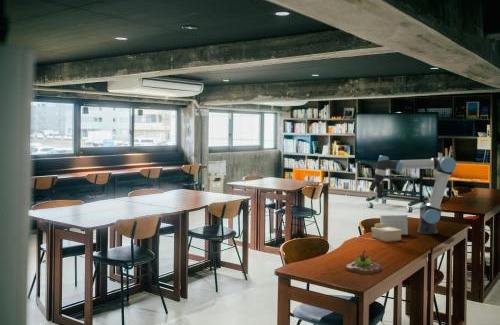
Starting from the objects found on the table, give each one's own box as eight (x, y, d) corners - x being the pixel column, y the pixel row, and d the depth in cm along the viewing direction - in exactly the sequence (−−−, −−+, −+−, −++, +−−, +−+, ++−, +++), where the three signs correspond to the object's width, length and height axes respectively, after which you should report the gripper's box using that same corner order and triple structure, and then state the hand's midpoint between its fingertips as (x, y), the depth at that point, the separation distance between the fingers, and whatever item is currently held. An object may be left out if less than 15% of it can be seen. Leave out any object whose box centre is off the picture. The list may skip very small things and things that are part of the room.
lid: (388, 228, 367) (388, 222, 367) (401, 232, 350) (401, 226, 350) (371, 230, 362) (371, 223, 362) (384, 234, 345) (384, 227, 345)
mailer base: (387, 235, 367) (387, 227, 367) (401, 240, 350) (400, 231, 350) (372, 237, 363) (372, 228, 363) (385, 241, 346) (385, 232, 346)
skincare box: (406, 233, 375) (406, 214, 375) (408, 234, 370) (407, 215, 369) (380, 233, 377) (379, 214, 377) (381, 234, 372) (381, 215, 371)
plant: (386, 268, 275) (386, 250, 275) (371, 276, 261) (371, 256, 260) (356, 263, 289) (356, 245, 288) (340, 270, 274) (340, 251, 273)
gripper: (369, 171, 380) (363, 196, 382) (381, 175, 355) (374, 202, 357) (377, 173, 381) (371, 197, 383) (390, 177, 356) (383, 203, 358)
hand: (373, 199), depth 370 cm, fingers open, 13 cm apart
